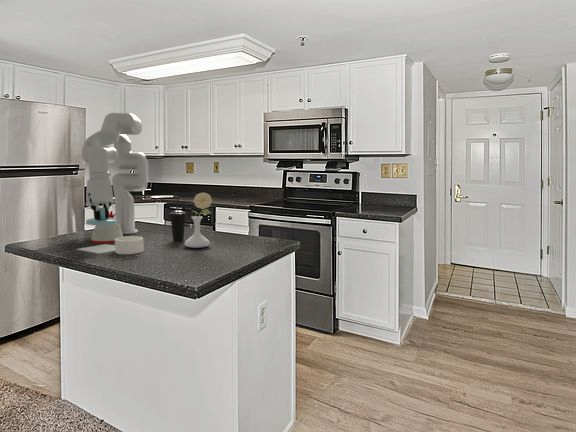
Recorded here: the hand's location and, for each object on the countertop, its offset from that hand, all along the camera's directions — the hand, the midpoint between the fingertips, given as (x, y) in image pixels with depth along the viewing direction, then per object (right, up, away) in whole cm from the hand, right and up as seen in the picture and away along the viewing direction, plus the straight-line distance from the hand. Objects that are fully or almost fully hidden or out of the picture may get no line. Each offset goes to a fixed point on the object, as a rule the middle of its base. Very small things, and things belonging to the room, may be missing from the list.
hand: (101, 218), depth 182 cm
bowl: (+13, -14, -4) cm, 20 cm away
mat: (0, -13, +1) cm, 13 cm away
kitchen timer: (-5, -11, +19) cm, 23 cm away
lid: (0, -2, 0) cm, 2 cm away
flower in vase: (+40, -13, +10) cm, 43 cm away
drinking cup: (+27, -11, +24) cm, 38 cm away
